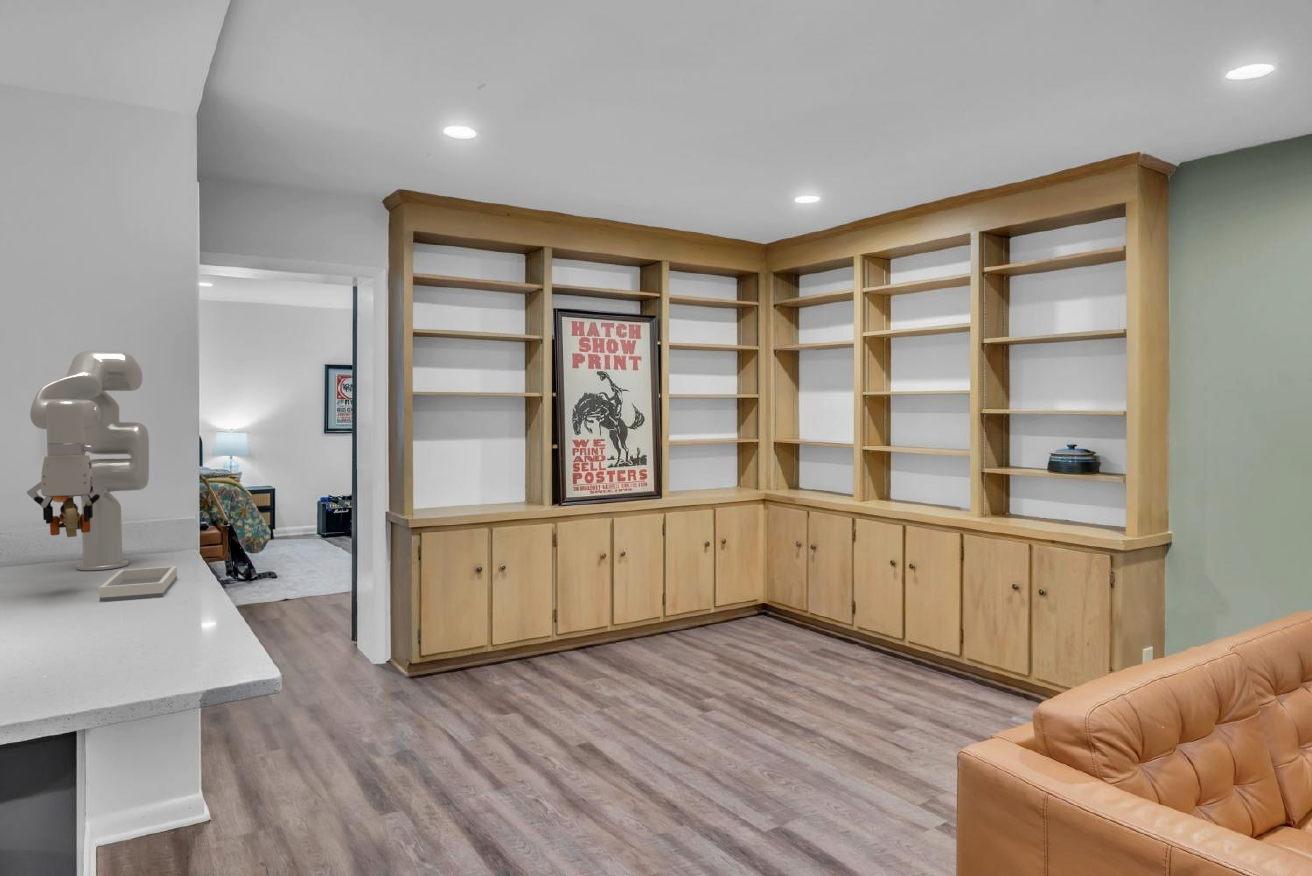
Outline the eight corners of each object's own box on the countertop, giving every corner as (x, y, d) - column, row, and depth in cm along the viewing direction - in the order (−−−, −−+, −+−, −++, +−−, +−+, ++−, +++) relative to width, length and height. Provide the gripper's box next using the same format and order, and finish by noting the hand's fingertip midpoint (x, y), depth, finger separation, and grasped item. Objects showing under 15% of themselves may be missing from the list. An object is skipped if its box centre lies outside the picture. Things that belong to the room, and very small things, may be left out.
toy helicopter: (89, 530, 211) (87, 477, 210) (94, 542, 194) (93, 485, 194) (49, 533, 206) (48, 479, 205) (52, 546, 189) (50, 487, 189)
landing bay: (120, 583, 214) (120, 570, 214) (176, 579, 220) (176, 566, 219) (99, 601, 193) (99, 587, 193) (162, 596, 198) (162, 582, 198)
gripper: (111, 449, 206) (113, 518, 207) (28, 450, 199) (30, 521, 200) (104, 450, 199) (106, 522, 200) (18, 452, 193) (20, 526, 193)
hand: (68, 521), depth 200 cm, fingers closed on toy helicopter, 7 cm apart
